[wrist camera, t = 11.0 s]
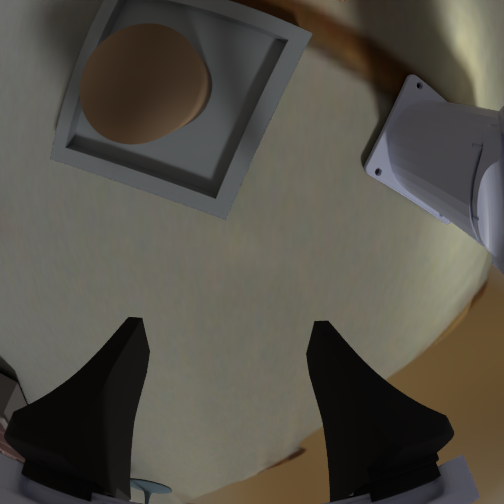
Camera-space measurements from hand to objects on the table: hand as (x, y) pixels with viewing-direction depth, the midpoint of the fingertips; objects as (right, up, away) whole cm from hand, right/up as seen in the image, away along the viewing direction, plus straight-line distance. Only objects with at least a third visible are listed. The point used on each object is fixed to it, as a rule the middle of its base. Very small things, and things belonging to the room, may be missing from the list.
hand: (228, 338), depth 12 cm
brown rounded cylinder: (-4, +13, +2) cm, 14 cm away
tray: (-4, +13, +3) cm, 14 cm away
